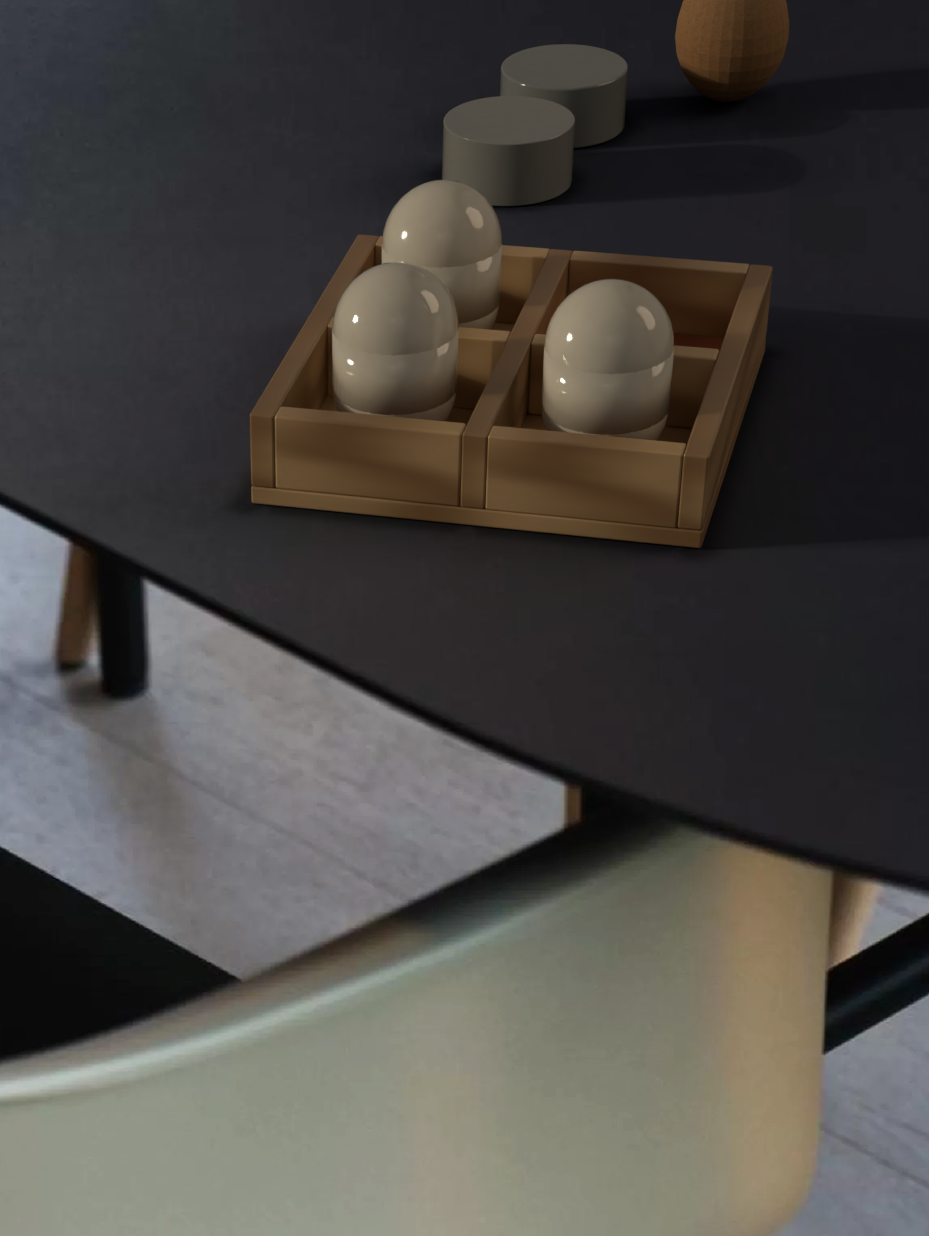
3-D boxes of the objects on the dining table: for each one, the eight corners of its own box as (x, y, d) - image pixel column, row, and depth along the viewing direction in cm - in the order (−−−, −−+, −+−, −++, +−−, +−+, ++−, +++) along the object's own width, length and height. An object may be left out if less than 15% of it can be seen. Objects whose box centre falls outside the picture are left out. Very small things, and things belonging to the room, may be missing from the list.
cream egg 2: (467, 423, 96) (472, 246, 92) (440, 478, 93) (445, 298, 89) (348, 412, 97) (349, 237, 93) (319, 466, 94) (318, 288, 90)
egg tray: (764, 351, 100) (773, 265, 98) (701, 549, 90) (709, 456, 88) (357, 318, 104) (357, 233, 102) (251, 504, 93) (249, 413, 91)
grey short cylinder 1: (560, 153, 115) (563, 91, 113) (581, 202, 111) (585, 139, 109) (433, 161, 115) (435, 100, 113) (451, 210, 111) (452, 148, 109)
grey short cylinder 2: (650, 123, 117) (654, 62, 115) (568, 159, 114) (571, 98, 112) (554, 94, 119) (557, 34, 118) (472, 128, 117) (474, 68, 115)
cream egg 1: (508, 336, 101) (515, 165, 97) (484, 386, 98) (490, 212, 94) (395, 327, 102) (397, 157, 98) (368, 376, 99) (369, 203, 95)
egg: (712, 71, 121) (725, -80, 117) (804, 95, 118) (820, -59, 114) (648, 103, 118) (658, -50, 114) (740, 127, 116) (754, -28, 112)
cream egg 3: (673, 442, 94) (688, 262, 90) (653, 499, 91) (667, 316, 87) (551, 430, 95) (560, 253, 91) (527, 486, 92) (535, 305, 88)
